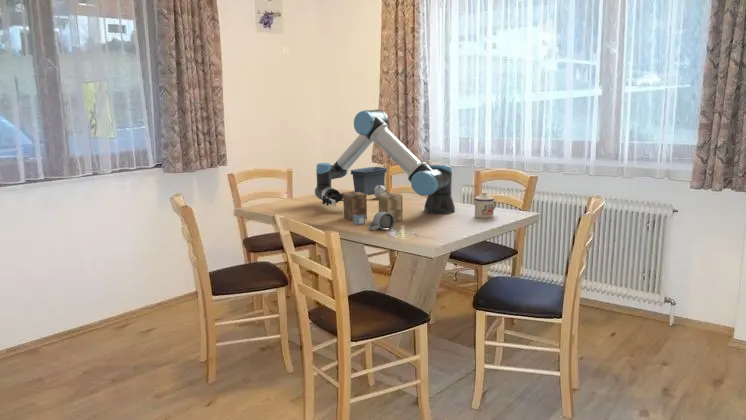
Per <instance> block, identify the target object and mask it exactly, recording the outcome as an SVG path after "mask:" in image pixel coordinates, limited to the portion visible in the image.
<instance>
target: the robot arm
mask: <svg viewBox="0 0 746 420" xmlns="http://www.w3.org/2000/svg"><path fill="white" fill-rule="evenodd" d="M389 124H390V119H389V116H388V115H387V113H386V112H385V111H384V110H381V109H370V110H369V109H365V110H361V111H359V112H358V113H356V115H355V116H354V119H353V128H354V130H355V132H356V133H357V134H358V135H357V137H356V138H355V140H354V141H353V142H351V143H350V145H349V146H348V147H347V149H346V150H345V151H344V152H343V153H342V154H341V155H340V156H339V157H338V159H337V160H336V161H335V163H333V164H332V165H331V163H330V162H319V163H317V164H316V170H315V171H316V187H315V188H314V195H315V197H316V198H318V199H319V200H322V202H321V203H322V204H321V205H326V206H332V207H336V206H337V203H339V202H344V201H343V193H341V192H340V191H339V190H338V189H335V188H334V187H332V180H336V179H341V178H344V177H345V176H347V174H348V172H349V169H350V168H351V167H352V166H353V164H355V162H356V161H357V160H358V159H359V158H360V157H361V156H362V155H363V153H364V152H365V151H366V150H367V149H368V148H369V147H370V146H371V145H372V144H373V142H375V143H376V144H377V145H378V147H380V148H381V149H382V150H383V151H384V152H385V153H386V154H387V156H389V157H390V158H391V160H392V161H394V162H395V163H396V165H397V166H399V167H400V168H401V169H402V170H403V172H404V173H405V174H406V175H407V180H408V181H409V182H410V184H411V189H412V190H413V191H414V192H415V194H417V195H419V196H427V197H426V201H425V203H424V208H423V210H424V212H425V213H428V214H437V215H438V214H441V215H444V214H452V213H454V212H455V211H456V206H455V203H454V201H453V197H452V187H453V186H452V182H453V180H452V179H453V171H452V167H451V166H450V165H441V164H440V165H439V164H437V165H436V164H428V163H427V162H425V161H423V162H421V160H419V159H418V158H417V157H416V156H415V155H414V154H413V152H411V151H410V150H409V149H408V148H407V147H406V146H405V145H404V144H403V143H402V142H401V141H400V140H399V139H398V138H397V137H396V136H395V134H393V133H392V132H391V130H389Z"/></svg>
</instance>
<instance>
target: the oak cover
mask: <svg viewBox="0 0 746 420" xmlns="http://www.w3.org/2000/svg"><path fill="white" fill-rule="evenodd" d="M378 212H386V213H390V214H392V215H393V216H394V219H395V223H396V222H402V221H403V217H404V216H403V213H404V212H403V194H399V193H396V192H388V193H386V194H379V198H378Z"/></svg>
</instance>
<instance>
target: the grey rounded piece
mask: <svg viewBox="0 0 746 420" xmlns="http://www.w3.org/2000/svg"><path fill="white" fill-rule="evenodd" d="M372 191H373V190H372ZM373 193H374V194H373V195H374V196H375V198H374V199H375V200H376V199H379V194H386V193H389V192H388V190H387V189H386V184H384V185H376V187H375V189H374V192H373Z"/></svg>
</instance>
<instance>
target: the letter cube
mask: <svg viewBox="0 0 746 420" xmlns="http://www.w3.org/2000/svg"><path fill="white" fill-rule="evenodd" d="M360 224H363V225H366V220H365V216H364V215H362V214H359V215H354V221H353V225H356V226H361V225H360Z"/></svg>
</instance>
